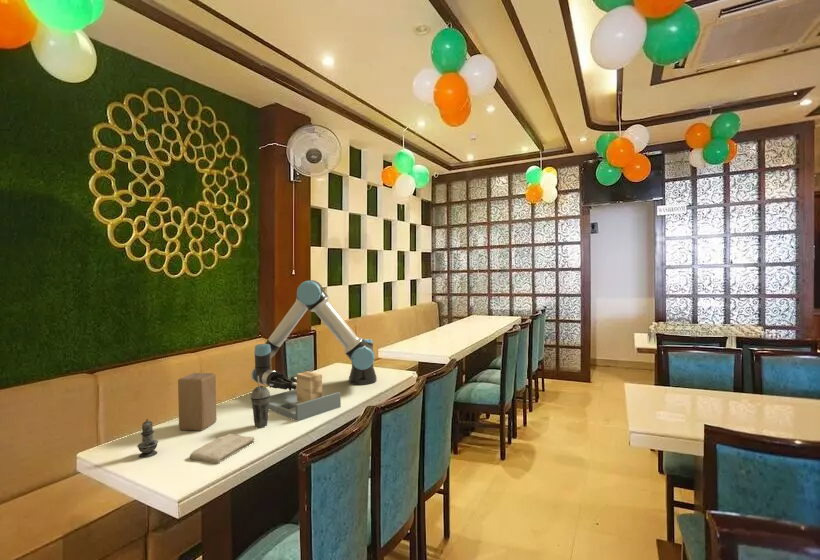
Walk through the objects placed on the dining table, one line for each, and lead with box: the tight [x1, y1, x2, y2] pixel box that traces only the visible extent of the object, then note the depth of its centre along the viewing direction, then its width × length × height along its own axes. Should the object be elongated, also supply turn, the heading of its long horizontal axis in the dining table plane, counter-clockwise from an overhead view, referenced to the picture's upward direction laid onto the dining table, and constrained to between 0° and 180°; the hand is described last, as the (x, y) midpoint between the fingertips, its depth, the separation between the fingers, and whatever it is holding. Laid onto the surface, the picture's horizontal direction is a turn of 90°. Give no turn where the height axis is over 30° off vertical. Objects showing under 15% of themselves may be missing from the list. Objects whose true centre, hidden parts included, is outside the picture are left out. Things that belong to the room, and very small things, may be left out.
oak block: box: [296, 370, 323, 404], centre depth 177 cm, size 6×10×13 cm, turn 50°
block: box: [177, 372, 218, 431], centre depth 159 cm, size 10×10×20 cm
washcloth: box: [189, 433, 256, 465], centre depth 137 cm, size 12×18×3 cm, turn 162°
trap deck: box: [268, 389, 342, 422], centre depth 182 cm, size 22×32×6 cm
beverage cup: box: [250, 376, 271, 429], centre depth 158 cm, size 7×7×20 cm
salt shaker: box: [136, 418, 159, 459], centre depth 135 cm, size 6×6×12 cm
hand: (301, 388), depth 180 cm, fingers closed
